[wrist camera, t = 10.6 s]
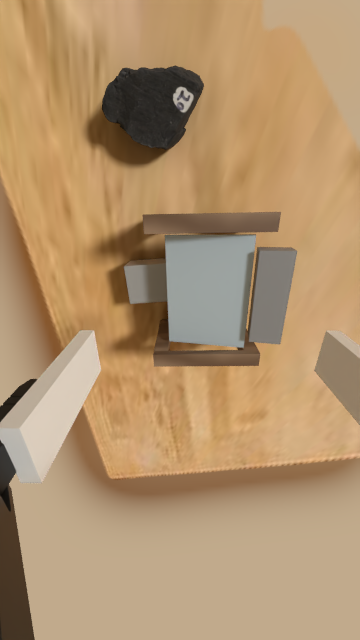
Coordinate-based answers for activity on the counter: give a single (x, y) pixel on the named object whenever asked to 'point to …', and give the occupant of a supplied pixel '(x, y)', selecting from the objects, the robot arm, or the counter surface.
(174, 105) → the rock
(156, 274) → the grey rectangular block
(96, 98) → the counter surface
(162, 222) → the trapdoor frame
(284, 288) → the trapdoor
